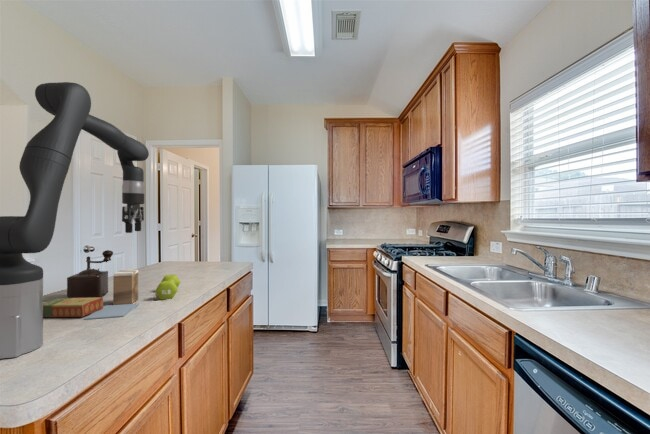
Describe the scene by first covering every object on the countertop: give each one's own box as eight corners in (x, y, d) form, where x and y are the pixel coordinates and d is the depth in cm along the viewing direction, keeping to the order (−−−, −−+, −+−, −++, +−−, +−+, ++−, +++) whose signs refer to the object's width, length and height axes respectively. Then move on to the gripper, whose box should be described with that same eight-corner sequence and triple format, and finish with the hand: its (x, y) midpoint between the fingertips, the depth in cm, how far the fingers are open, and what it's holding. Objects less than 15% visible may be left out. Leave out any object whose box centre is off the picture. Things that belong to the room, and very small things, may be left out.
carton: (82, 317, 90) (82, 304, 89) (34, 317, 90) (34, 304, 90) (103, 308, 98) (103, 296, 98) (59, 308, 98) (59, 296, 98)
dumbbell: (177, 299, 111) (177, 281, 111) (154, 301, 108) (154, 283, 108) (181, 289, 126) (181, 273, 126) (161, 290, 123) (161, 274, 123)
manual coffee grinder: (100, 299, 110) (101, 254, 110) (65, 301, 107) (66, 255, 106) (114, 289, 125) (115, 249, 125) (84, 291, 121) (84, 250, 121)
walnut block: (131, 304, 104) (132, 272, 104) (113, 305, 102) (113, 273, 102) (138, 299, 110) (138, 269, 110) (120, 301, 108) (120, 270, 108)
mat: (123, 316, 91) (123, 315, 91) (83, 319, 89) (83, 318, 89) (138, 304, 104) (138, 303, 104) (104, 306, 101) (104, 305, 101)
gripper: (136, 191, 107) (136, 233, 108) (150, 193, 121) (150, 230, 121) (114, 191, 105) (114, 233, 106) (130, 193, 119) (131, 230, 120)
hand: (133, 231), depth 114 cm, fingers open, 8 cm apart
